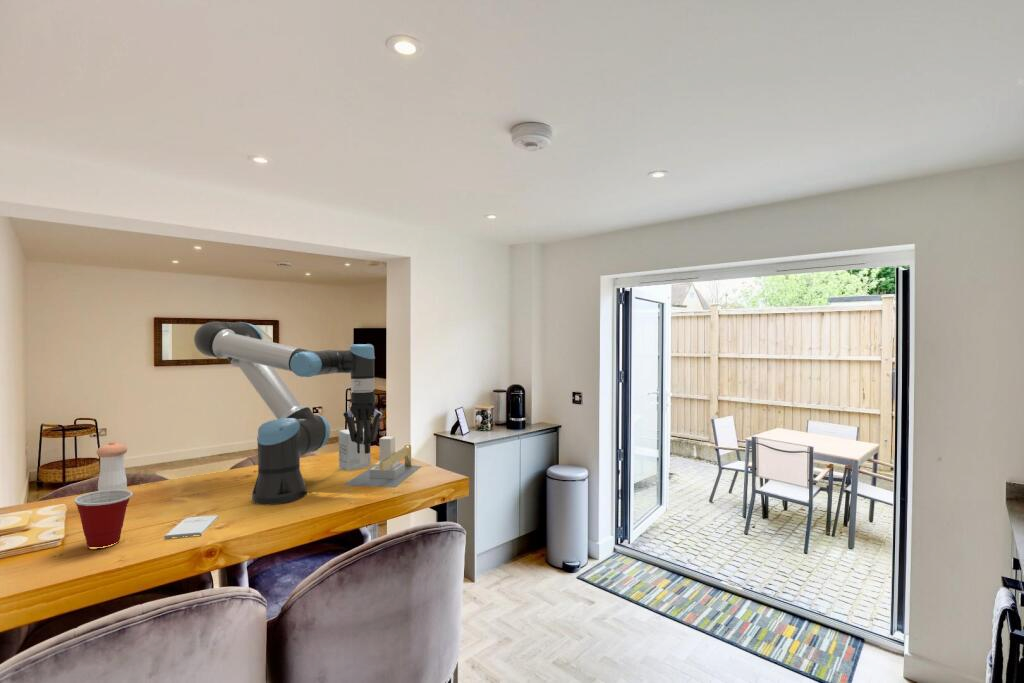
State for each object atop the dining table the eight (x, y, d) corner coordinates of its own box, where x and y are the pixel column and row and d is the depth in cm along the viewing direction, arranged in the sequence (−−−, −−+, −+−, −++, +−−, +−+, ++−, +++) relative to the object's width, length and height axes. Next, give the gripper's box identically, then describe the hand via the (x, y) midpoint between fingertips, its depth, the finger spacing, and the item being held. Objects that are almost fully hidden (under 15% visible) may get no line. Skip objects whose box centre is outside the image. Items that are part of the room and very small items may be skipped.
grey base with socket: (342, 489, 159) (342, 476, 159) (376, 468, 184) (375, 456, 184) (395, 492, 156) (395, 477, 156) (422, 470, 182) (422, 458, 182)
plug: (375, 477, 167) (374, 439, 167) (382, 472, 174) (382, 435, 174) (392, 478, 166) (392, 439, 166) (399, 472, 173) (399, 435, 173)
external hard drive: (163, 542, 120) (184, 523, 132) (201, 538, 122) (218, 520, 134) (163, 535, 120) (184, 517, 132) (201, 532, 122) (218, 514, 134)
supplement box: (361, 465, 189) (361, 427, 189) (371, 470, 182) (371, 430, 182) (338, 470, 183) (337, 429, 183) (347, 475, 176) (346, 433, 176)
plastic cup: (112, 553, 112) (111, 501, 112) (61, 555, 111) (61, 503, 111) (144, 534, 123) (143, 487, 123) (98, 536, 122) (97, 488, 122)
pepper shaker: (116, 510, 141) (115, 443, 141) (90, 511, 141) (89, 444, 141) (134, 501, 148) (133, 438, 148) (109, 502, 148) (108, 439, 148)
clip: (377, 484, 158) (377, 461, 158) (406, 464, 183) (405, 444, 183) (385, 484, 157) (384, 461, 157) (412, 464, 182) (412, 445, 182)
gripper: (338, 392, 158) (339, 465, 158) (377, 392, 156) (378, 466, 156) (349, 389, 165) (350, 460, 165) (386, 390, 163) (387, 460, 163)
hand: (363, 463), depth 161 cm, fingers closed
